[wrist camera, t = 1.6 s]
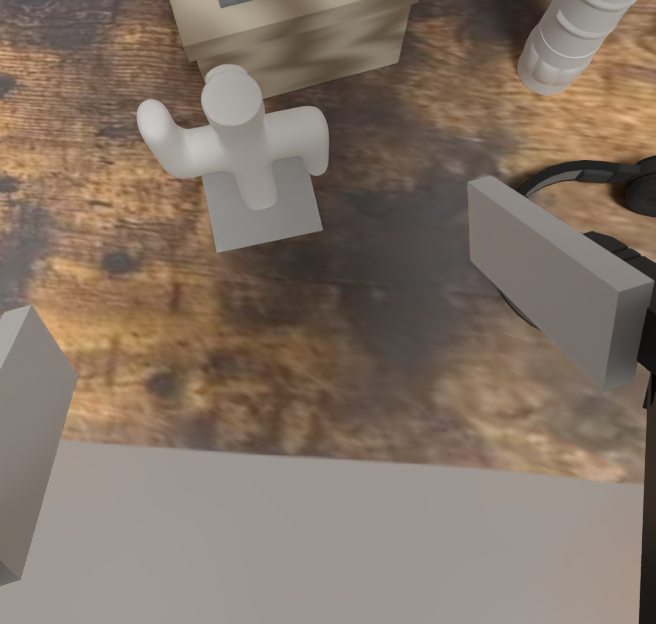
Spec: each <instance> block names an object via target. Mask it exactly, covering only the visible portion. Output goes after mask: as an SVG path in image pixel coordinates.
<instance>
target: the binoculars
mask: <svg viewBox="0 0 656 624" xmlns="http://www.w3.org/2000/svg"><path fill="white" fill-rule="evenodd" d="M635 1H636V0H553V1H552V2H551V4H550V6H549V8H548V9H547V11H546V12H545V13H544V15H543V17H542V18H541V20H540V22H539V24H537V25H536V26H535V28H534V29H533V30H532V32H531V33H530V35H529V37H528V39H527V41H526V43H525V45H524V50H523V52H522V54H521V55H520V57H519V60H518V64H517V71H518V76H519V78H520V80H521V81H522V83H523V84H524V85H525V86H526V87H527V88H528V89H530V90H531V91H533V92H535V93H537V94H541V95H556V94H559V93H561V92H563V91H565V90H566V89H567V88H568V87H569V86H570V84H571V83H572V82H573V81H574V79H575V78H577V77H578V76H580V75H581V73H582V72H583V71H584V70H585V69H586V68H587V66H588V65H589V63H590V62H591V60H592V58H593V55H594V53H595V52H596V51H597V50H598V48H599V47H600V46H601V44H602V42H603V40H604V39H605V38H606V37H607V35H608V34H609V33H611V32H612V31H613V30H614V28H615V27H616V26H617V24H618V22H619V20H620V18H621V17H622V16H623V15H624V13H625V12H626V11H627V9H628V8H629V7H630V6H631V5H632V4H633V3H634V2H635Z"/></svg>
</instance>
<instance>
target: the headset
mask: <svg viewBox="0 0 656 624" xmlns="http://www.w3.org/2000/svg"><path fill="white" fill-rule="evenodd" d="M571 180H578V181H582V182H595V183H605V182H606V183H608V182H609V183H616V184H621V185H625V186H626V190H627V192H626V197H625V202H626V205H627V207H628V208H629V209H630V210H631V211H633V212H635V213H638V214H641V215H645V216H650V217H656V156H652V157H648V158H645V159H643V160H641V161H639V162H638V163H636V164H635V165H625V164H619V163H612V162H605V161H592V160H580V161H571V162H565V163H561V164H558V165H555V166H551V167H549V168H547V169H545V170H543V171H541V172H539V173H537V174H535V175H533V176H532V177H531V178H530V179H528V180H527V181H526V182H525V183H523V184H522V185H521V186H520V187H519V188H518V189H517V190H516V192H518V193H519V194H521V195H522V196H524V197H526V198H527V197H528V196H530V195H531V194H532V193H534V192H536V191H538V190H540V189H541V188H543V187H545V186H549V185H552V184H555V183H558V182H563V181H571ZM499 290H500V289H499ZM500 291H501V290H500ZM501 293H502V295H503V297H504V298H505V300H506V302H507V303H508V304H509V305H510V306H511V308H512V309H513V310H514V311H515V312H516V313H517V314H518V315H519V316H520V317H521V318H523V319H524V320H525V321H527V322H528V323H529V324H531V325H532V326H534V327H536V328H538V327H537V326H536V325H535V324H534V323H533V322H532V321H531V320H530V319H529V318H528V317H527V316H526V315H525V314H524V313H523V312H522V311H521V310H520V309H519V308H518V307H517V306H516V305H515V304H514V303H513V302H512V301H511V300H510V299H509V298H508V297H507V296H506V295H505V294H504V293H503V292H502V291H501ZM538 329H539V328H538ZM539 330H540V329H539Z"/></svg>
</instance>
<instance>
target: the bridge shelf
mask: <svg viewBox="0 0 656 624" xmlns="http://www.w3.org/2000/svg"><path fill="white" fill-rule="evenodd" d="M418 1H419V0H170V3H171V6H172V10H173V13H174V17H175V20H176V24H177V27H178V31H179V34H180V38H181V41H182V45H183V48H184V50H185V53H186V56H187V58H188V61H189V62H193V61H197V63H198V66H199V69H200V72H201V74H202V77H203V80H204V83H205V85H206V82H205V77H206V74H207V73H208V72H209V71H210V70H211V69H213V68H215V67H217V66H220V65H224V64H232V65H238V66H240V67H242V68H244V69H245V70H246V71H247V74H248V75H249V76H250V77H252V78H253V79H254V80H255V81H256V82H257V84H258V85H259V87H260V90H261V93H262V98H263V99H265V98H269V97H272V96H276V95H280V94H284V93H287V92H291V91H295V90H299V89H302V88H306V87H310V86H314V85H317V84H321V83H325V82H328V81H332V80H336V79H340V78H343V77H347V76H351V75H355V74H358V73H362V72H366V71H369V70H373V69H377V68H381V67H384V66H388V65H392V64H396V63H398V61H399V57H400V52H401V48H402V43H403V39H404V34H405V30H406V25H407V21H408V16H409V12H410V7H411V4H415V3H418Z"/></svg>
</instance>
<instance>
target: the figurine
mask: <svg viewBox="0 0 656 624" xmlns="http://www.w3.org/2000/svg"><path fill="white" fill-rule="evenodd" d="M205 82H206V85H205V87H204V89H203V91H202V95H201V104H202V108H203V110H204V112H205V115H206V117H207V119H208V121H209V123H210V125H207V126H202V127H197V128H192V129H184V128H182V127H180V126H178V125H177V124H176V123H175V122H174V121H173V119H172V117H171V115H170V113H169V112H168V110H167V108H166V107H165V106H164V105H163V104H162V103H161V102H159V101H157V100H154V99H148V100H145V101H143V102H142V103H141V104H140V106H139V108H138V111H137V124H138V128H139V131H140V133H141V135H142V137H143V139H144V141H145V142H146V144H147V145H148V147H149V148H150V150H151V151H152V153H153V154H154V156H155V157H156V159H157V160H158V162H159V163H160V164H161V166H162V167H163V168H164V169H165V171H166V172H167V173H168V174H170V175H171V176H173V177H175V178H179V179H188V178H193V177H198V176H202V181H203V186H204V191H205V197H206V202H207V207H208V212H209V217H210V222H211V227H212V232H213V237H214V242H215V247H216V253H219V252H224V251H229V250H233V249H238V248H243V247H247V246H252V245H257V244H261V243H266V242H271V241H275V240H280V239H285V238H289V237H294V236H299V235H304V234H308V233H313V232H318V231H322V230H323V228H322V224H321V220H320V215H319V211H318V207H317V203H316V198H315V194H314V190H313V186H312V182H311V177H310V174H311V175H314V176H319V175H322V174H323V173H324V172H325V171H326V169H327V167H328V159H329V132H328V126H327V122H326V119H325V117H324V115H323V113H322V112H321V111H320V110H319V109H318V108H316V107H313V106H302V107H297V108H292V109H287V110H282V111H277V112H272V113H267V114H265V108H264V103H263V98H262V93H261V90H260V87H259V85H258V84H257V82H256V81H255V80H254V79H253V78H252V77H250V76H249V75H248V74H247V71H246V70H245V69H244V68H242V67H240V66H238V65H232V64H224V65H220V66H217V67H215V68H213V69H211V70H210V71H209V72H208V73H207V74H206V77H205Z"/></svg>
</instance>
